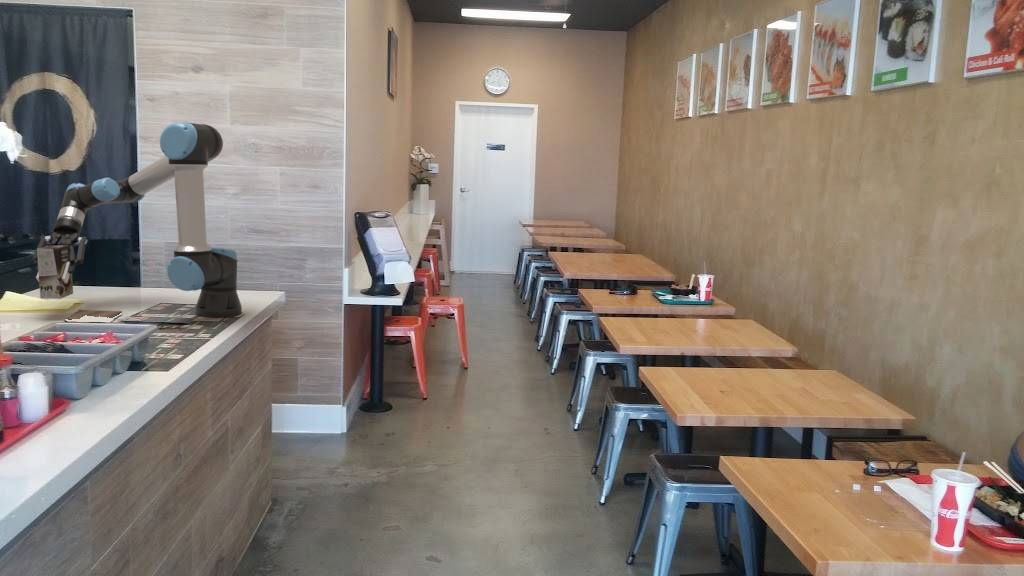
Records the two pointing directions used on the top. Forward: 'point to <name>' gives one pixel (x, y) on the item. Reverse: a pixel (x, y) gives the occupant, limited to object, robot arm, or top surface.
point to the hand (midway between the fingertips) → (51, 280)
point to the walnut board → (93, 314)
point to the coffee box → (53, 271)
